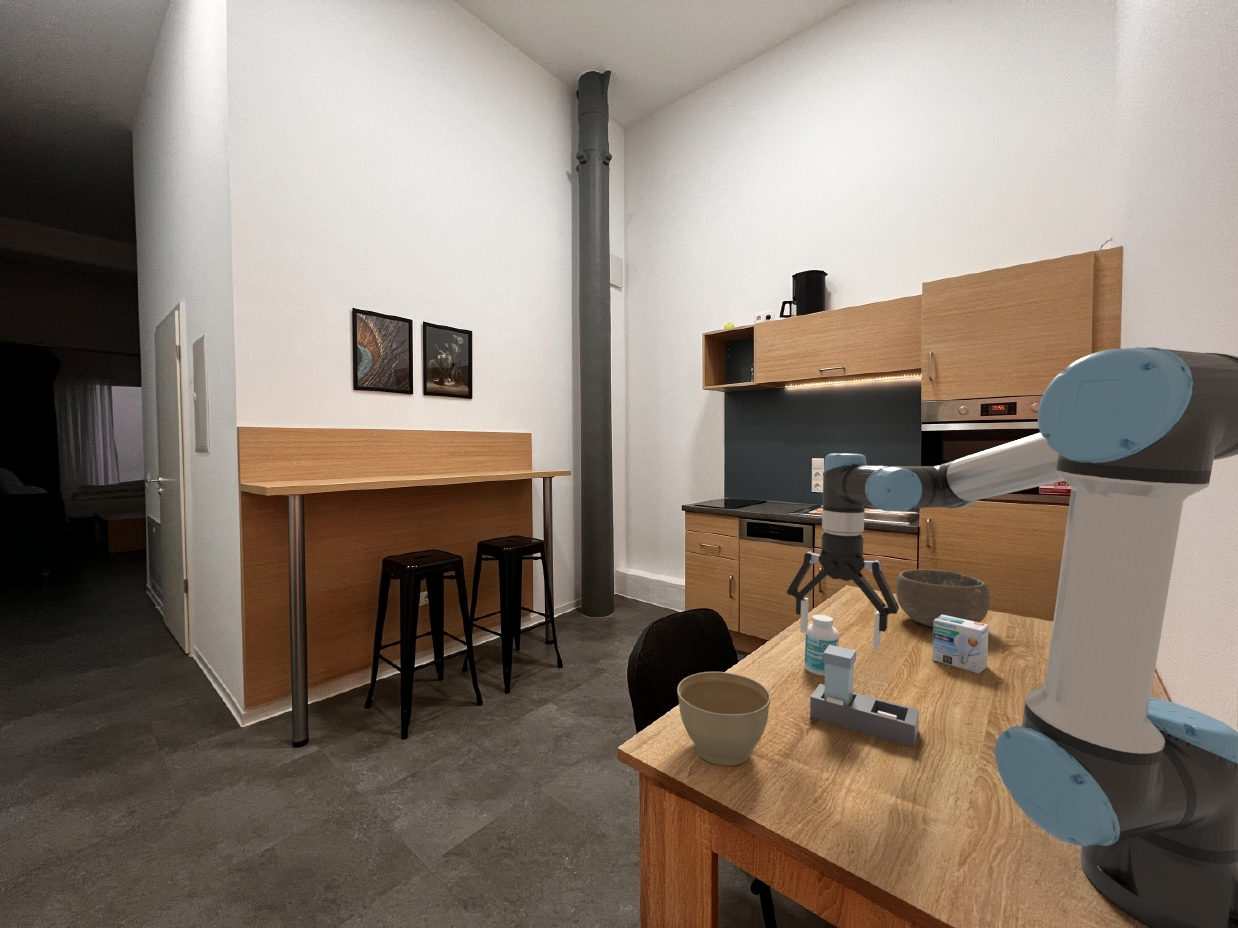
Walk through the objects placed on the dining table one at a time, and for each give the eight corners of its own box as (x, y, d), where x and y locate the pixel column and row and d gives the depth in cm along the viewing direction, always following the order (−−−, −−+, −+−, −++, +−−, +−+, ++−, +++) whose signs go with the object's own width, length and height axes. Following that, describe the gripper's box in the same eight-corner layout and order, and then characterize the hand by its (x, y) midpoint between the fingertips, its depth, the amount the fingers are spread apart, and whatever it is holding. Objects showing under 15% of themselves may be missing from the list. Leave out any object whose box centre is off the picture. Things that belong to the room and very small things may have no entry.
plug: (849, 725, 99) (850, 658, 98) (821, 717, 102) (823, 652, 101) (854, 714, 103) (856, 650, 102) (828, 707, 106) (829, 644, 105)
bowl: (913, 607, 176) (914, 564, 176) (999, 627, 158) (1000, 578, 157) (882, 622, 161) (883, 575, 161) (972, 646, 142) (974, 592, 142)
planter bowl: (705, 717, 103) (705, 663, 103) (783, 747, 93) (784, 688, 93) (658, 753, 91) (659, 692, 90) (743, 793, 81) (745, 725, 80)
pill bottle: (802, 675, 123) (803, 619, 122) (806, 664, 129) (808, 610, 129) (836, 682, 119) (837, 624, 119) (839, 670, 126) (840, 615, 125)
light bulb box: (931, 660, 132) (932, 618, 132) (939, 653, 137) (941, 613, 137) (980, 674, 124) (982, 630, 124) (988, 666, 129) (989, 624, 129)
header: (914, 753, 92) (915, 722, 91) (809, 721, 102) (810, 693, 102) (918, 735, 97) (919, 706, 97) (819, 707, 108) (819, 680, 107)
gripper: (917, 536, 97) (913, 647, 98) (784, 523, 111) (782, 619, 112) (913, 542, 91) (908, 661, 92) (773, 527, 105) (770, 629, 106)
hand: (839, 638), depth 102 cm, fingers open, 13 cm apart
